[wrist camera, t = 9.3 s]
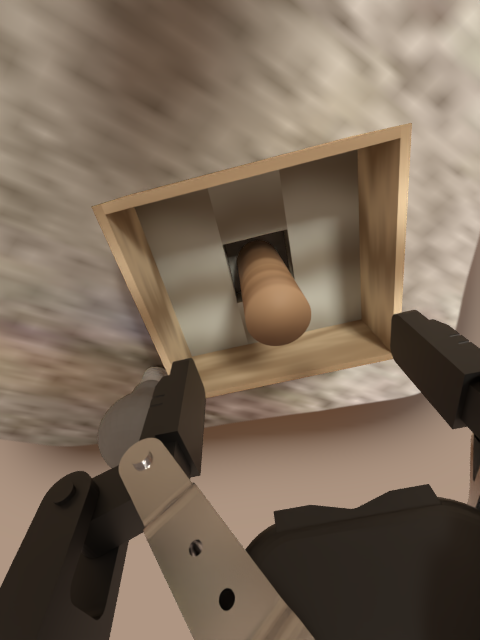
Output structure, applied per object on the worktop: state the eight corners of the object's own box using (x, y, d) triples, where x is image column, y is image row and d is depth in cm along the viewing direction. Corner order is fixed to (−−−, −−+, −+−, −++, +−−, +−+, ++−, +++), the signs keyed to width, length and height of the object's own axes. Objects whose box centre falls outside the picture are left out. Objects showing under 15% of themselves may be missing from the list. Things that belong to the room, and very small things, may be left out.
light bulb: (200, 369, 28) (189, 460, 20) (168, 404, 30) (145, 501, 22) (146, 338, 26) (108, 425, 18) (116, 379, 28) (68, 474, 20)
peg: (232, 245, 23) (238, 296, 14) (274, 235, 22) (307, 280, 14) (242, 284, 24) (252, 351, 15) (281, 275, 24) (314, 338, 15)
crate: (130, 194, 20) (91, 206, 14) (352, 136, 19) (411, 122, 13) (190, 349, 27) (180, 403, 21) (357, 312, 26) (398, 357, 20)
